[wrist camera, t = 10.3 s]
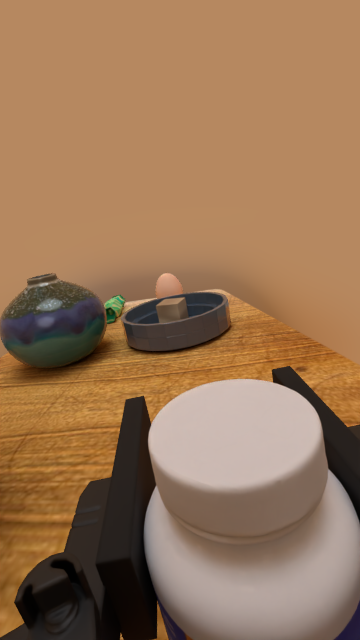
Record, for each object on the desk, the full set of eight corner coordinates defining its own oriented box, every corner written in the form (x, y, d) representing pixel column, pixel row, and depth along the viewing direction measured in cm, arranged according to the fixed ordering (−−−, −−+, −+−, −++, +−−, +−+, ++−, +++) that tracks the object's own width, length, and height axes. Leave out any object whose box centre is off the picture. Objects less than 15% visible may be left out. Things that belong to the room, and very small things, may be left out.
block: (189, 318, 56) (185, 297, 55) (181, 326, 52) (177, 303, 51) (168, 319, 57) (164, 299, 56) (160, 327, 54) (155, 305, 53)
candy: (120, 316, 64) (105, 303, 63) (109, 327, 65) (94, 314, 64) (129, 303, 76) (116, 291, 75) (119, 312, 77) (107, 301, 76)
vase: (56, 342, 59) (34, 273, 55) (129, 336, 54) (111, 260, 50) (-9, 384, 45) (-45, 295, 41) (82, 381, 40) (51, 280, 36)
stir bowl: (248, 316, 53) (244, 290, 52) (194, 360, 40) (188, 327, 39) (168, 314, 63) (164, 292, 62) (106, 349, 50) (98, 323, 49)
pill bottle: (223, 883, 7) (116, 591, 4) (173, 612, 12) (110, 397, 9) (421, 767, 8) (444, 462, 5) (297, 560, 13) (274, 350, 10)
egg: (169, 312, 64) (162, 276, 62) (154, 310, 69) (147, 276, 66) (190, 304, 67) (184, 270, 65) (174, 302, 72) (168, 270, 69)
